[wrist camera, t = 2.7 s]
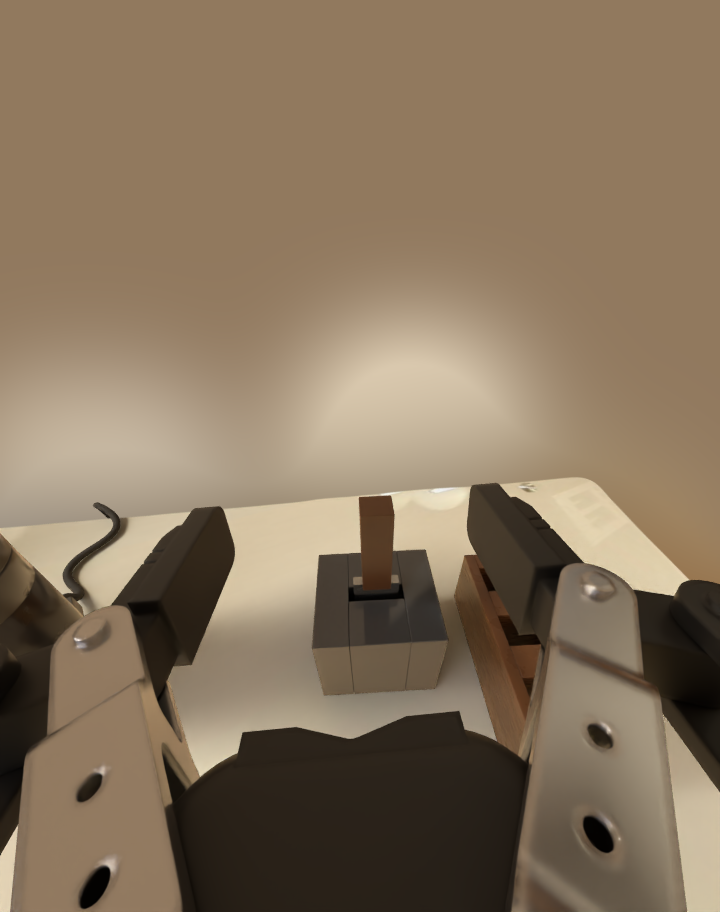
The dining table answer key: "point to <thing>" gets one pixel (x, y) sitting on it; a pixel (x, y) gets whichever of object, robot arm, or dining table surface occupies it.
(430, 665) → the knife block
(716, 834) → the dining table surface
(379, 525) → the chef knife
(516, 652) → the knife rack
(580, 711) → the robot arm
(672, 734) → the dining table surface
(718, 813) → the dining table surface
